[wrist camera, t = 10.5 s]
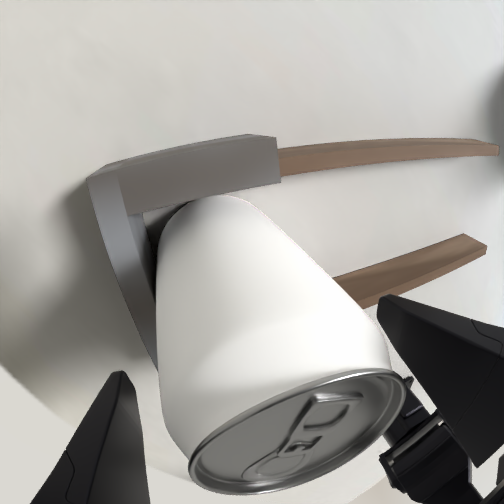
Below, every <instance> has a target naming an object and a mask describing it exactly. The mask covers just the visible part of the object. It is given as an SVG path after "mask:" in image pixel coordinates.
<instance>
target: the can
mask: <svg viewBox="0 0 504 504" xmlns="http://www.w3.org/2000/svg"><path fill="white" fill-rule="evenodd" d="M156 333H157V358H158V374H159V387H160V398H161V405H162V413H163V417H164V421H165V425H166V428H167V430H168V432H169V434H170V436H171V438H172V439H173V441H174V442H175V443H176V445H177V446H178V447H179V449H180V450H181V451H182V452H183V453H184V455H185V456H186V457H187V458H188V460H189V463H188V472H189V475H190V477H191V479H192V480H193V481H194V482H195V483H196V484H197V485H199V486H200V487H202V488H204V489H206V490H209V491H212V492H215V493H220V494H226V495H256V494H264V493H270V492H275V491H280V490H284V489H288V488H291V487H295V486H298V485H301V484H304V483H306V482H309V481H312V480H314V479H316V478H319V477H321V476H323V475H325V474H327V473H329V472H331V471H333V470H335V469H337V468H339V467H340V466H342V465H344V464H346V463H347V462H349V461H350V460H352V459H353V458H355V457H356V456H358V455H359V454H360V453H362V452H363V451H364V450H366V449H367V448H368V447H369V446H371V445H372V444H373V443H374V442H375V441H376V440H377V439H378V438H379V437H380V436H381V435H382V434H383V433H384V432H385V431H386V430H387V429H388V428H389V427H390V425H391V424H392V423H393V421H394V420H395V419H396V417H397V416H398V414H399V412H400V410H401V408H402V406H403V404H404V401H405V397H406V385H405V382H404V380H403V379H402V377H401V376H400V375H399V374H397V373H396V372H394V371H392V367H391V362H390V357H389V352H388V348H387V344H386V341H385V339H384V336H383V334H382V333H381V331H380V330H379V328H378V327H377V325H376V324H375V323H374V321H373V320H372V319H371V318H370V317H369V316H368V315H367V314H366V313H365V312H364V310H363V309H362V308H361V307H360V306H359V305H358V304H357V303H356V302H355V301H354V300H353V299H352V298H351V297H350V296H349V295H348V294H347V293H346V292H345V291H344V290H343V289H342V288H341V287H340V286H339V285H338V284H337V283H336V282H335V281H334V280H333V279H332V278H331V277H330V276H329V275H328V274H327V273H326V272H325V271H324V270H323V269H322V268H321V267H320V266H319V265H318V264H317V263H316V262H315V261H314V260H313V259H312V258H311V257H310V256H309V255H308V254H307V253H306V252H304V251H303V250H302V249H301V248H300V247H299V246H298V245H297V244H296V243H295V242H294V241H293V240H292V239H291V238H290V237H289V236H288V235H287V234H285V233H284V232H283V231H282V230H281V229H280V228H279V227H278V226H277V225H276V224H275V223H274V222H273V221H271V220H270V219H269V218H268V217H267V216H266V215H265V214H264V213H263V212H261V211H260V210H259V209H258V208H257V207H255V206H254V205H252V204H251V203H249V202H247V201H245V200H243V199H240V198H237V197H233V196H227V195H215V196H210V197H205V198H201V199H197V200H195V201H192V202H190V203H189V204H187V205H185V206H184V207H182V208H181V209H180V210H179V211H177V212H176V213H175V214H174V215H173V216H172V217H171V219H170V220H169V221H168V223H167V224H166V226H165V228H164V230H163V232H162V234H161V237H160V240H159V244H158V252H157V271H156Z"/></svg>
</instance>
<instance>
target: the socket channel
mask: <svg viewBox="0 0 504 504" xmlns="http://www.w3.org/2000/svg"><path fill="white" fill-rule="evenodd" d="M496 155H499V146H498V145H494V144H490V143H486V142H482V141H478V140H474V139H455V138H404V139H378V140H361V141H347V142H335V143H324V144H314V145H305V146H297V147H289V148H281V149H277V141H276V137H269V136H261V135H252V134H245V135H238V136H232V137H226V138H220V139H214V140H209V141H203V142H198V143H193V144H188V145H183V146H178V147H174V148H169V149H165V150H160V151H156V152H152V153H148V154H144V155H140V156H136V157H132V158H128V159H125V160H121V161H117V162H114V163H110V164H107V165H105V166H104V167H102V168H101V169H99V170H98V171H96V172H95V173H93V174H92V175H90V176H89V177H88V178H86V181H87V185H88V189H89V193H90V197H91V200H92V204H93V207H94V211H95V214H96V218H97V221H98V225H99V228H100V231H101V234H102V237H103V241H104V244H105V247H106V250H107V253H108V255H109V258H110V261H111V264H112V267H113V270H114V272H115V275H116V278H117V280H118V283H119V286H120V288H121V291H122V293H123V296H124V298H125V301H126V303H127V306H128V308H129V311H130V313H131V315H132V318H133V320H134V322H135V325H136V327H137V329H138V331H139V334H140V336H141V338H142V340H143V342H144V345H145V347H146V349H147V351H148V353H149V355H150V357H151V359H152V361H153V363H154V365H155V367H156V369H157V371H158V358H157V333H156V271H157V265H156V262H155V259H154V255H153V252H152V248H151V245H150V241H149V238H148V234H147V230H146V227H145V223H144V219H143V215H142V212H146V211H150V210H154V209H158V208H162V207H166V206H170V205H174V204H179V203H183V202H187V201H192V200H196V199H201V198H205V197H210V196H215V195H219V194H224V193H229V192H234V191H239V190H244V189H249V188H254V187H260V186H265V185H270V184H276V183H281V178H280V177H282V176H288V175H294V174H300V173H307V172H313V171H320V170H327V169H334V168H342V167H349V166H358V165H366V164H375V163H384V162H394V161H405V160H417V159H430V158H445V157H464V156H496ZM486 250H487V246H486V245H484V244H483V243H481V242H479V241H477V240H475V239H473V238H472V237H470V236H468V235H466V234H461V235H459V236H456V237H453V238H450V239H448V240H445V241H442V242H440V243H437V244H434V245H431V246H428V247H426V248H423V249H420V250H417V251H414V252H411V253H408V254H406V255H403V256H400V257H397V258H394V259H391V260H388V261H385V262H382V263H379V264H376V265H373V266H370V267H367V268H363V269H360V270H357V271H354V272H351V273H348V274H344V275H341V276H338V277H335V278H332V279H333V280H334V281H335V282H336V283H337V284H338V285H339V286H340V287H341V288H342V289H343V290H344V291H345V292H346V293H347V294H348V295H349V296H350V297H351V298H352V299H353V300H354V301H355V302H356V303H357V304H358V305H359V306H360V307H361V308H362V309H365V308H368V307H370V306H373V305H376V304H378V301H379V298H380V297H381V296H384V295H386V294H393V295H396V296H398V295H400V294H402V293H405V292H407V291H409V290H412V289H414V288H416V287H419V286H421V285H423V284H425V283H427V282H430V281H432V280H434V279H436V278H438V277H441V276H443V275H445V274H447V273H449V272H451V271H453V270H455V269H457V268H459V267H461V266H463V265H465V264H467V263H469V262H471V261H473V260H475V259H477V258H479V257H481V256H483V255H485V254H486Z"/></svg>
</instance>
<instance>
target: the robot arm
mask: <svg viewBox="0 0 504 504" xmlns="http://www.w3.org/2000/svg"><path fill="white" fill-rule="evenodd" d="M377 319H378V322H379V323H380V325H381V327H382V328H383V330H384V331H385V333H386V335H387V337H388V338H389V340H390V342H391V343H392V345H393V347H394V348H395V350H396V351H397V353H398V354H399V356H400V357H401V358H402V360H403V361H404V362H405V364H406V365H407V366H408V368H409V369H410V371H411V372H412V373H413V375H414V376H415V377H416V379H417V380H418V382H419V383H420V384H421V386H422V387H423V389H424V390H425V392H426V393H427V394H428V396H429V397H430V399H431V400H432V402H433V403H434V404H435V406H436V407H437V409H436V410H435V412H434V413H433V414H432V415H430V414H429V412H428V411H427V410H426V409H425V408H424V406H423V404H422V403H421V402H420V400H419V399H418V398H417V397H416V396H415V394H414V393H413V392H412V391H411V390H410V388H411V385H412V383H413V381H414V378H413V377H412V376H411V377H409V378H407V379H405V380H404V382H405V385H406V397H405V401H404V404H403V406H402V408H401V410H400V412H399V414H398V416H397V417H396V419H395V420H394V421H393V423H392V424H391V425H390V427H389V428H388V429H387V430H386V431H385V432H384V433H383V434H382V435H383V437H384V438H385V440H386V441H387V443H388V444H389V445H390V447H391V448H390V449H389V450H387V451H386V452H384V453H382V454H381V455H379V457H380V459H379V461H380V463H381V464H382V466H383V468H384V469H385V472H386V474H387V477H388V479H389V482H390V485H391V487H392V488H397V489H398V490H400V491H401V492H402V493H407V494H408V495H409V497H410V498H411V500H413V501H415V502H418V503H422V504H504V454H503V455H502V456H501V457H500V458H499V464H498V473H497V481H496V485H497V487H496V488H495V489H494V490H493V491H492V492H491V493H490V494H489V495H488V496H487V497H485V498H484V499H483V497H482V496H481V495H480V493H479V492H478V491H477V489H476V488H475V487H474V485H473V484H472V462H473V464H474V466H475V467H476V468H478V467H479V466H480V465H482V464H483V463H484V462H485V461H486V460H487V459H488V458H489V457H490V456H492V455H493V454H494V453H495V452H496V451H497V450H498V449H499V448H500V447H501V446H502V445H503V444H504V328H503V327H498V326H494V325H490V324H486V323H483V322H480V321H476V320H473V319H471V320H470V318H467V317H463V316H460V315H457V314H454V313H451V312H447V311H444V310H441V309H438V308H435V307H431V306H428V305H425V304H422V303H418V302H415V301H412V300H409V299H406V298H402V297H399V296H396V295H393V294H386V295H384V296H381V297H380V298H379V301H378V308H377ZM441 421H442V422H443V423H442V424H441V425H440V426H439V425H438V423H439V422H441ZM30 504H150V497H149V490H148V483H147V475H146V465H145V455H144V444H143V432H142V426H141V420H140V415H139V409H138V403H137V396H136V391H135V388H134V386H133V384H132V382H131V381H130V379H129V377H128V376H127V374H126V373H125V372H124V371H116V372H112V373H111V375H110V376H109V378H108V379H107V381H106V383H105V384H104V386H103V387H102V389H101V390H100V392H99V394H98V395H97V397H96V399H95V400H94V402H93V403H92V405H91V407H90V408H89V410H88V412H87V413H86V415H85V417H84V418H83V420H82V422H81V423H80V425H79V427H78V428H77V430H76V432H75V433H74V435H73V437H72V439H71V440H70V442H69V444H68V445H67V447H66V450H65V451H64V452H63V454H62V456H61V458H60V459H59V461H58V463H57V464H56V466H55V468H54V469H53V471H52V472H51V474H50V475H49V477H48V478H47V480H46V481H45V483H44V484H43V486H42V487H41V489H40V490H39V491H38V493H37V494H36V496H35V497H34V499H33V500H32V502H31V503H30Z"/></svg>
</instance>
